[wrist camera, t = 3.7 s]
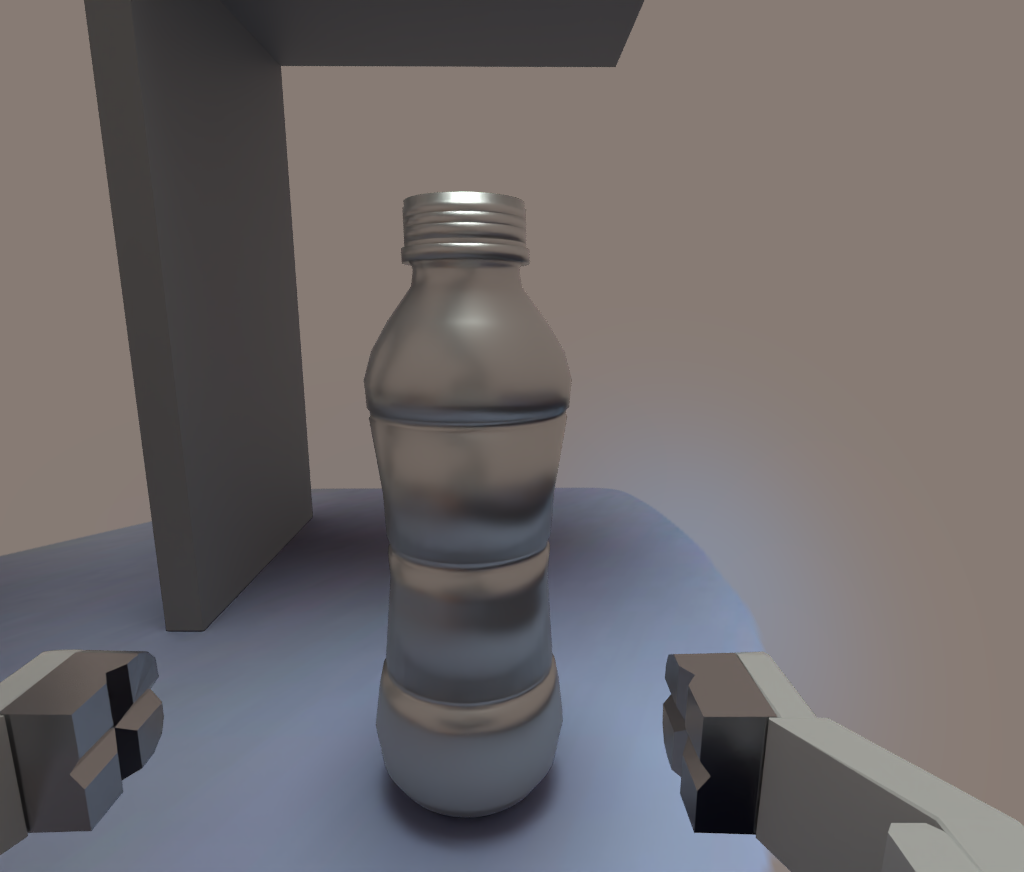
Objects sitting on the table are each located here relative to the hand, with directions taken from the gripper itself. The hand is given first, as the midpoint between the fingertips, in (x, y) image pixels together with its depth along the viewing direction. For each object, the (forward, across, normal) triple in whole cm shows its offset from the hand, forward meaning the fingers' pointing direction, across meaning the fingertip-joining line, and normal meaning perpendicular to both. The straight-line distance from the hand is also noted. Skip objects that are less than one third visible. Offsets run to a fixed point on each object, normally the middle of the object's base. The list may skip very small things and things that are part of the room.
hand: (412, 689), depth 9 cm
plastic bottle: (+10, 0, +11) cm, 15 cm away
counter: (+30, +4, +11) cm, 32 cm away
